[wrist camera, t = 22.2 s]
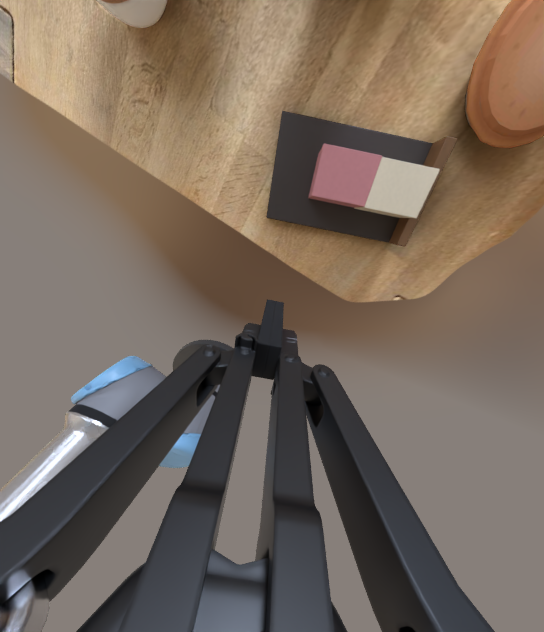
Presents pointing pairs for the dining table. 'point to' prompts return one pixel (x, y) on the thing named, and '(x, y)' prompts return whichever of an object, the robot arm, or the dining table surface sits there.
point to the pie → (510, 79)
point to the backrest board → (299, 165)
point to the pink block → (343, 176)
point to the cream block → (399, 188)
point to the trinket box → (135, 11)
